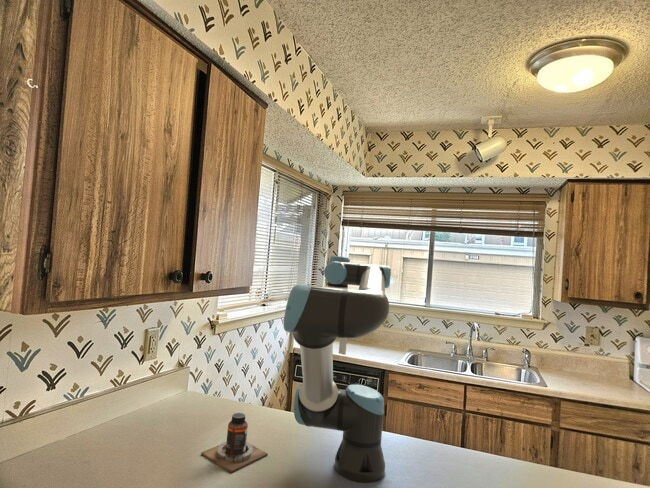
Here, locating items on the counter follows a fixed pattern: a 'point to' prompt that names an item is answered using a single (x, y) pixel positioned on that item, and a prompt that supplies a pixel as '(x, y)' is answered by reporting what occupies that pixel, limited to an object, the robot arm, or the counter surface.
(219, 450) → the collar
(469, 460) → the counter surface
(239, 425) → the supplement bottle
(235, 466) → the seat board
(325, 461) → the counter surface
